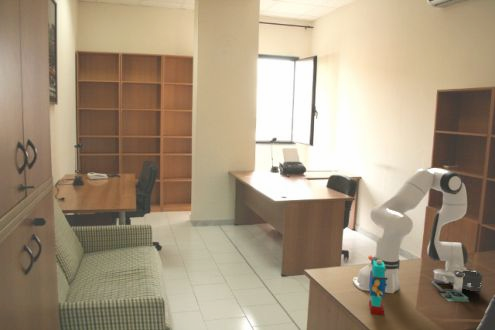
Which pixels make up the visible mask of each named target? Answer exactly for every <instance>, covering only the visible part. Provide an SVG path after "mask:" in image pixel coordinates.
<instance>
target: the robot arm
mask: <svg viewBox="0 0 495 330" xmlns="http://www.w3.org/2000/svg"><path fill="white" fill-rule="evenodd" d="M430 190H435V191H438V192H441V193H442V205H441V208H440V209H439V210H438V211H437V212H436V213H435V215H434V218H433V219H434V220H433V223H432V228H431V234H430V239H429V243H428V245H427V249H426V250H427V251H426V253H427V256H428V258H429V259H431V260H432V261H436V262H437V261H438V262H439V261H440V262H441V261H444V262H445V269H443V268H435V269H433V271H432V272H433V279H434V280H435V281H444V282H445V283H448V282H451V283H454V278H455V275H454V271H460V272H463V271H471V272H476V273H477V271H476V270H473V269H470V268H468V267H465V266H466V265H467V263H468V260H469V257H468V256H469V255H468V250H467V247H466V245H464V244H463V243H462V242H458V241H457V242H455V241H454V242H453V241H452V242H451V241H440V234H441V231H442V230H441V229H442V228H443V226H445V225H446V224H448V223H451V222H455V221H458V220H460V219H462V218H463V217H464V216H465V215H466V213H467V210H468V195H467V190H466V185H465V183H464V182H463V180H462V177H461V176H460V174H458V173H457V172H456V171H451V170H447V169H445V168H439V167H432V166H431V167H427V168H425V169H424V168H419V169H417V170H416V171H414V172H413V173H412V174H411V175H410V176H409V177H408V178H407V179H406V180H405V182H404V183H403V185H401V187H400V188H399V190H398V191H397V192H396V193H395V194H394V195H393V196H391V198H389V199H387V200H386V201H384V202H383V203H382V204H379V205H376V206H374V207H373V208H372V210H371V211H370V219H371V221H372V222H373V223H374V224H375V225H376V226H377V227H379V228H382V229H383V233H382V236H381V238H378V240H377V241H376V245H375V246H376V248H375V255H374V256H373V255H370V254H369V256H367V257H368V258H367V259H368V260H369V261H370V263H369V264H367V265H365V266H363V267H362V268H360V269H359V271H358V273H357V276H354V277H353V279H352V284H353V285H354V286H355V287H356V288H357V289H359V290H361V291H366V292H370V289H369V282H370V271H371V270H372V266H373V261H377V260H382V262H384V265H385V268H386V271H385V279H386V286H385V293H386V294H394V293H395V292H396V291H399V290H400V288H401V287H400V281H399V270H400V264H401V260H400V252H401V245H402V243H403V241H404V238H405V236H407V235H409V234H410V233H411V232H412V230H413V226H414V223H413V220H412V218H410V216H408V215H407V214H406V213H407V212H409V211H411V210H414V209H416V208H417V207H418V205H419V204H420V203H421V201H422V200H423V199H424V198H425V197H426V195H427V193H428V192H429V191H430ZM379 255H380V256H379ZM480 284H481V285H480V287H481V286H482V282H481V283H480ZM466 287H467V288H472V286H471V283H467V285H466Z"/></svg>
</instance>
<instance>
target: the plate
mask: <svg viewBox="0 0 495 330" xmlns="http://www.w3.org/2000/svg"><path fill="white" fill-rule="evenodd" d="M439 294H440V295H441V296H442V297H444V299H446V300H447V301H448V302H470V300H469V297H468V296H467V295H465V294H464V293H463V292H462V293H461V297H456V296H454V295H453V291H446V292H443V293H441V292H440V293H439Z"/></svg>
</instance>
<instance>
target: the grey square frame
mask: <svg viewBox="0 0 495 330" xmlns="http://www.w3.org/2000/svg"><path fill="white" fill-rule="evenodd" d="M431 284H432V285H433V286H435V288H437V289H438V290H439V291H440V292H443V293H446V291H453V288H442V287H441V286H440V285H443V284H444V285H451V286H452V287H453V286H454V283H451V282H448V283H445V282H444V281H440V280H431ZM438 284H439V285H438Z"/></svg>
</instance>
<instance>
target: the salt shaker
mask: <svg viewBox="0 0 495 330" xmlns="http://www.w3.org/2000/svg"><path fill="white" fill-rule="evenodd" d="M454 275H455V278H454V286H452V287H453V288H452V289H453V295H454V296H456V297H461V293H463V286H464V285H463V277H464V276H465V273H463V272H460V271H454Z"/></svg>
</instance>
